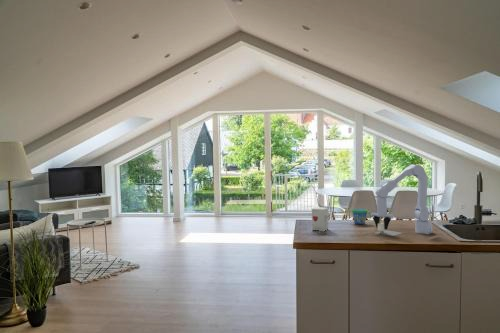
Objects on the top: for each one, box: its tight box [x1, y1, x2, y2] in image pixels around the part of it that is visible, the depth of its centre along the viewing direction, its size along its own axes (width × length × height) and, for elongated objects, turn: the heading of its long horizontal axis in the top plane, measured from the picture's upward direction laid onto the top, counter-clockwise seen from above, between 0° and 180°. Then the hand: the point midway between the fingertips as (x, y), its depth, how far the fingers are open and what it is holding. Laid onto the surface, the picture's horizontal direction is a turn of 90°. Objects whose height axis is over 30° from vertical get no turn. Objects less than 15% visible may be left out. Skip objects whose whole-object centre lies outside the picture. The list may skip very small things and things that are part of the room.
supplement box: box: [311, 206, 329, 232], centre depth 287 cm, size 9×9×15 cm
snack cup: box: [348, 208, 372, 225], centre depth 309 cm, size 16×10×10 cm
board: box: [375, 229, 403, 237], centre depth 266 cm, size 13×13×4 cm
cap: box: [376, 222, 387, 232], centre depth 266 cm, size 5×5×4 cm
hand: (381, 228), depth 266 cm, fingers closed on cap, 5 cm apart
